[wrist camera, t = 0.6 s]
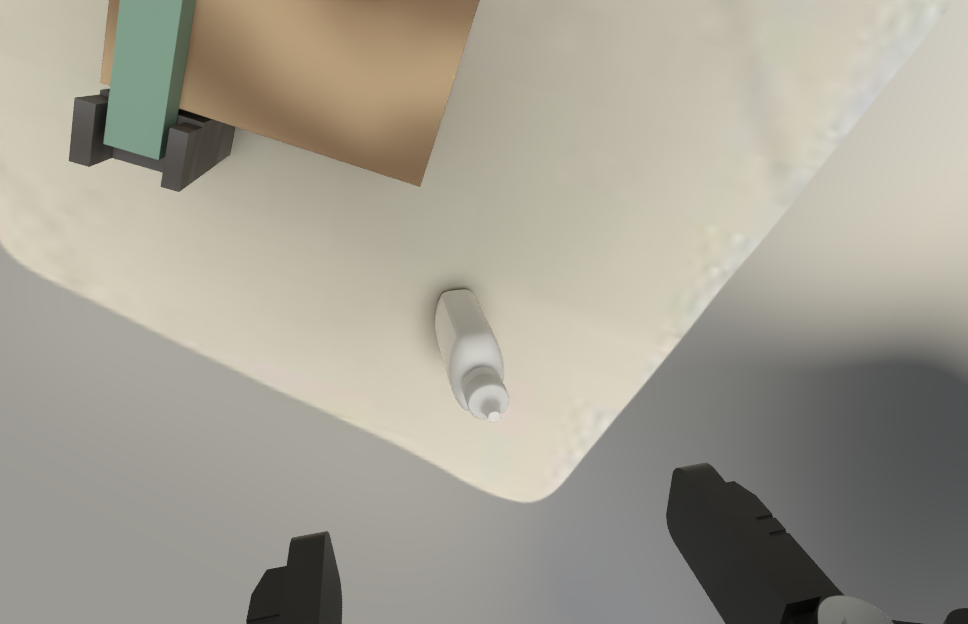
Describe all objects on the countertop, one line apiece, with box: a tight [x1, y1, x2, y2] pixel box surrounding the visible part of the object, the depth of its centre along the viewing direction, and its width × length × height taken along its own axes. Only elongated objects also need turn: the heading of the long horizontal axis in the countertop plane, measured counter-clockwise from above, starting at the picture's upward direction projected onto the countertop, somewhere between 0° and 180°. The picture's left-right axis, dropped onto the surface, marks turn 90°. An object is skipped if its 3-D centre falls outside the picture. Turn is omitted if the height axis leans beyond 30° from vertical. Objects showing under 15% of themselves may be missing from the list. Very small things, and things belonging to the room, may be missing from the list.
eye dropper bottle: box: [435, 289, 509, 422], centre depth 35 cm, size 4×6×12 cm
